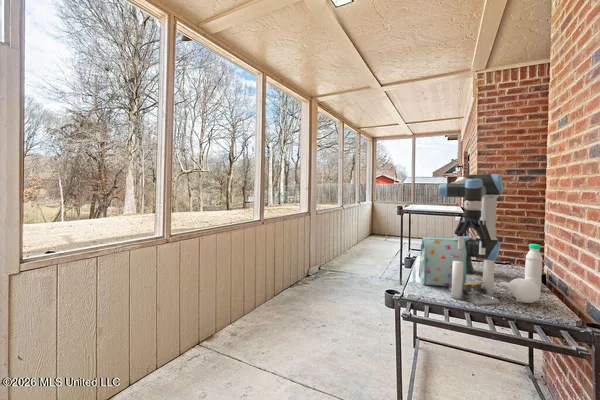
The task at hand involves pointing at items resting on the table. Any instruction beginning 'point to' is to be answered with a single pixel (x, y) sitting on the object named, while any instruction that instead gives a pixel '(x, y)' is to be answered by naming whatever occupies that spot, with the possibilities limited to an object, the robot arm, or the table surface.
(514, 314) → the table surface
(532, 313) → the table surface
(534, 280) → the water bottle
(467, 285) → the orange-faced thin slab
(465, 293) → the plate
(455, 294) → the white tapered rounded cylinder
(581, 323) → the table surface
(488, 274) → the off-white domed rod
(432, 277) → the lunch bag
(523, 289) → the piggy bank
